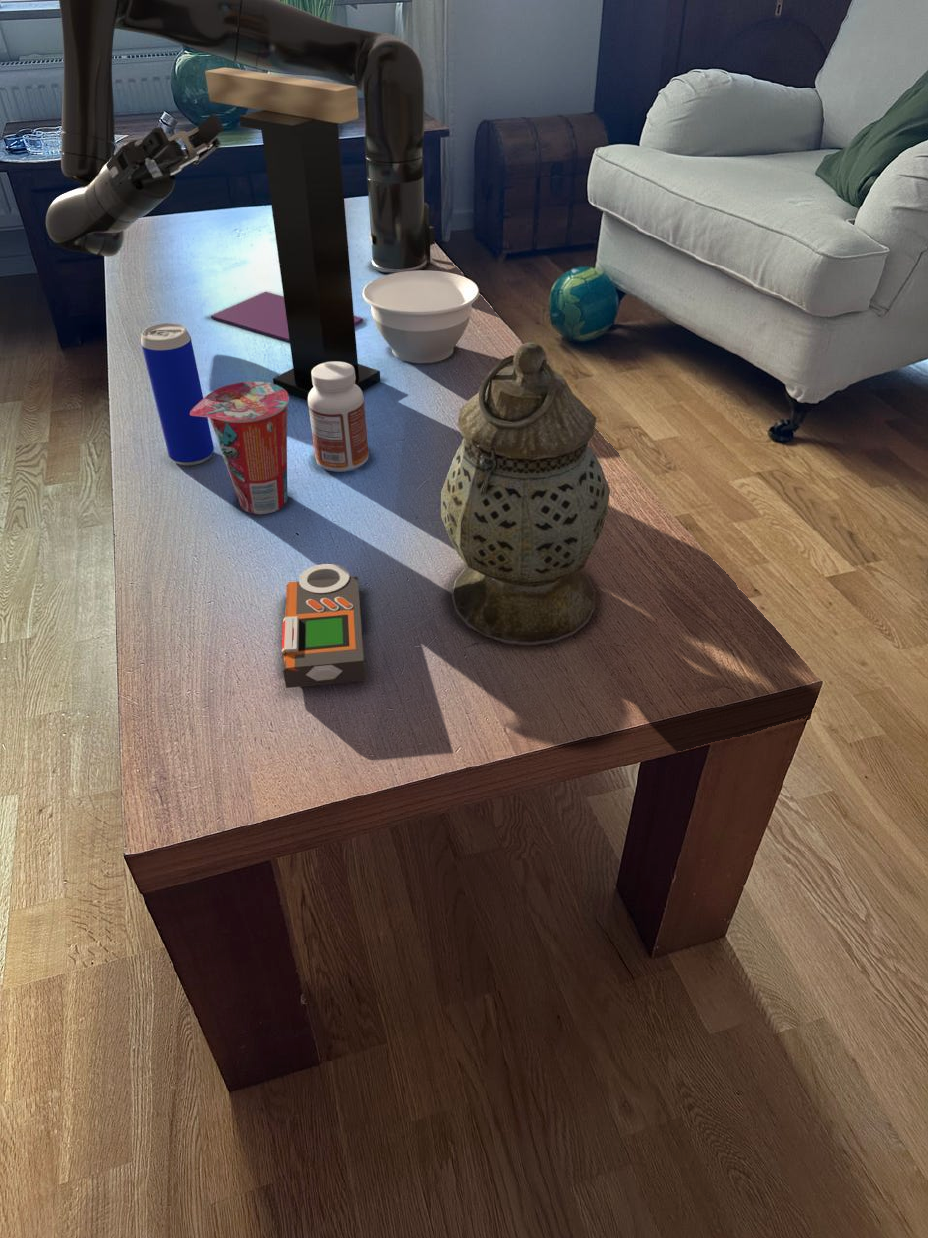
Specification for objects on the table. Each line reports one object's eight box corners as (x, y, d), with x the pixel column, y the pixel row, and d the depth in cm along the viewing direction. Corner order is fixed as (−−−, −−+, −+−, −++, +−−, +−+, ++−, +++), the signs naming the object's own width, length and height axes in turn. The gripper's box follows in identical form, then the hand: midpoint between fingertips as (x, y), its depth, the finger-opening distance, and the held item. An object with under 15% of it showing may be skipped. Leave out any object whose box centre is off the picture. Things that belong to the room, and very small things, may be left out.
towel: (265, 293, 142) (265, 291, 142) (362, 320, 134) (362, 318, 134) (211, 318, 135) (210, 315, 134) (310, 348, 126) (309, 345, 126)
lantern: (623, 628, 80) (664, 366, 63) (477, 666, 76) (479, 398, 60) (557, 543, 90) (577, 298, 73) (425, 573, 86) (415, 322, 70)
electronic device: (356, 558, 84) (363, 659, 72) (359, 584, 86) (366, 686, 74) (284, 564, 83) (279, 667, 71) (288, 590, 85) (284, 694, 73)
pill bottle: (358, 442, 106) (350, 353, 98) (377, 466, 101) (370, 375, 94) (308, 453, 104) (296, 364, 96) (325, 478, 99) (314, 386, 92)
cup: (263, 472, 100) (246, 373, 92) (319, 496, 97) (306, 394, 89) (201, 510, 94) (177, 407, 87) (257, 536, 91) (237, 431, 83)
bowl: (459, 322, 133) (459, 264, 128) (494, 365, 122) (495, 304, 116) (356, 335, 130) (351, 276, 124) (381, 381, 118) (377, 318, 113)
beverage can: (220, 446, 105) (195, 322, 95) (206, 468, 101) (179, 342, 91) (178, 444, 105) (149, 320, 96) (163, 466, 101) (131, 340, 92)
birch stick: (209, 101, 101) (204, 70, 99) (229, 96, 103) (224, 66, 101) (340, 123, 92) (337, 90, 90) (359, 118, 94) (356, 86, 92)
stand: (273, 388, 116) (232, 114, 96) (325, 362, 123) (296, 99, 102) (330, 409, 112) (299, 126, 91) (380, 381, 118) (362, 110, 97)
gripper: (73, 165, 113) (127, 106, 101) (161, 143, 122) (220, 86, 110) (105, 223, 116) (161, 172, 104) (189, 198, 124) (250, 148, 113)
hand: (191, 128), depth 107 cm, fingers open, 8 cm apart
